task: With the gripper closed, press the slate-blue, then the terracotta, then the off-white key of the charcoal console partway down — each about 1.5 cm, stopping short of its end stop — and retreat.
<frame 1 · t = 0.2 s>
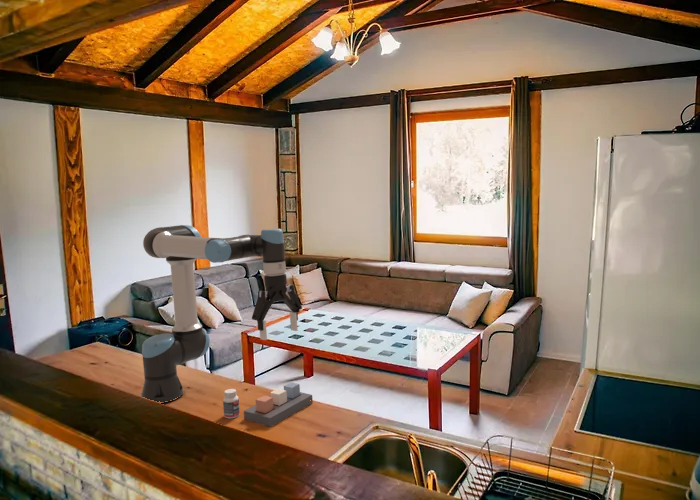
hand: (279, 334, 180), 27 cm above the countertop, fingers open, 13 cm apart
slate key: (291, 390, 187), point 5 cm above the countertop, slide at 0.0 cm
white key: (278, 397, 182), point 5 cm above the countertop, slide at 0.0 cm
console: (279, 410, 182), on the countertop
pill bottle: (232, 416, 180), on the countertop
terracotta key: (264, 404, 176), point 5 cm above the countertop, slide at 0.0 cm
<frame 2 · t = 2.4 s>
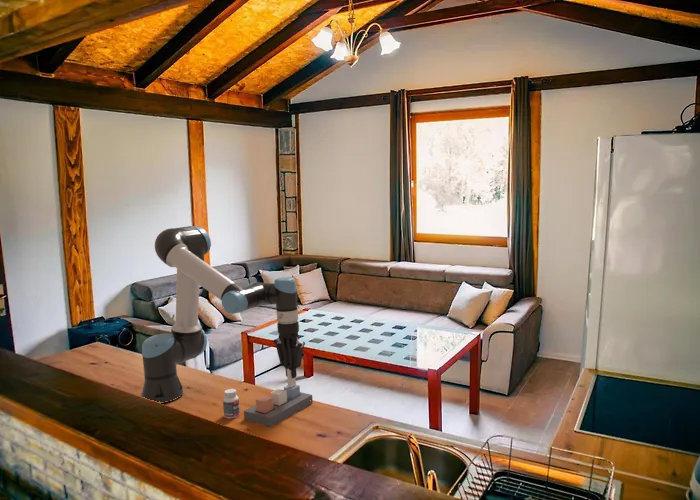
hand: (291, 385, 187), 7 cm above the countertop, fingers closed
slate key: (291, 391, 188), point 4 cm above the countertop, slide at 0.6 cm, touching gripper
everything else where it was.
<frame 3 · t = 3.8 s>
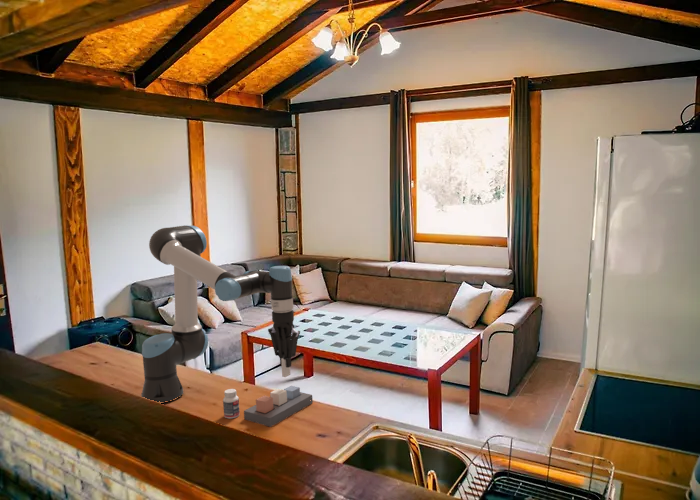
hand: (286, 375, 185), 11 cm above the countertop, fingers closed
slate key: (292, 393, 188), point 4 cm above the countertop, slide at 1.3 cm
everything else where it was.
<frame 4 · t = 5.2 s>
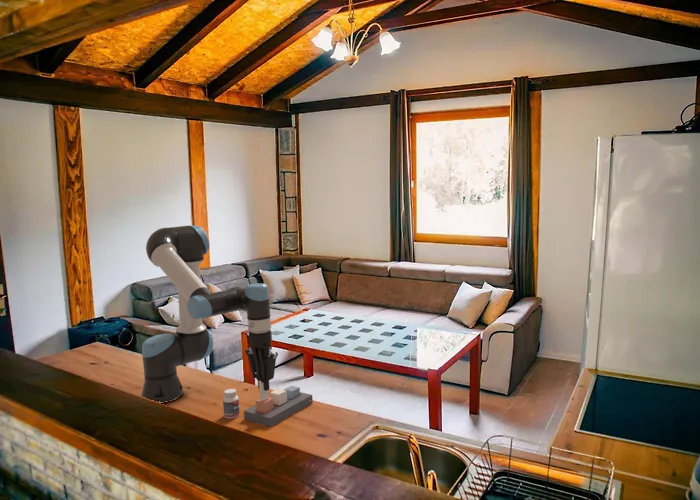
hand: (264, 398, 176), 7 cm above the countertop, fingers closed
terracotta key: (264, 405, 176), point 5 cm above the countertop, slide at 0.4 cm, touching gripper
everything else where it was.
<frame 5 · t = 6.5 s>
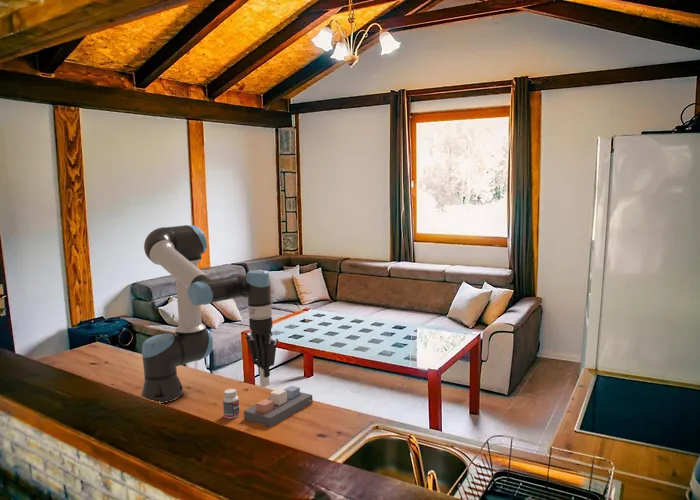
hand: (264, 385, 176), 11 cm above the countertop, fingers closed
terracotta key: (264, 407, 176), point 4 cm above the countertop, slide at 1.3 cm
everything else where it was.
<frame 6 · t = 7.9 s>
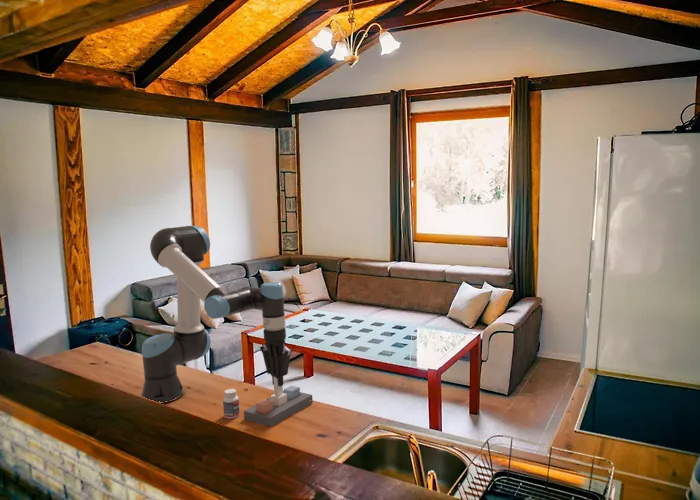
hand: (278, 394, 182), 6 cm above the countertop, fingers closed
white key: (278, 400, 182), point 4 cm above the countertop, slide at 1.2 cm, touching gripper
everything else where it was.
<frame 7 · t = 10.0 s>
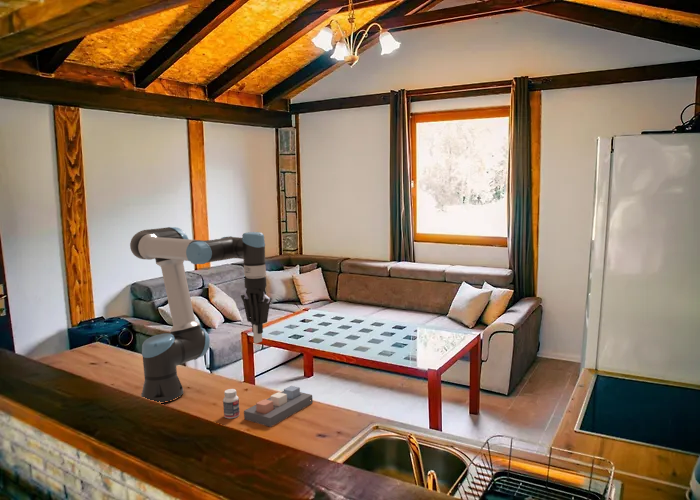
hand: (258, 341, 186), 23 cm above the countertop, fingers closed
white key: (278, 400, 182), point 4 cm above the countertop, slide at 1.3 cm
everything else where it was.
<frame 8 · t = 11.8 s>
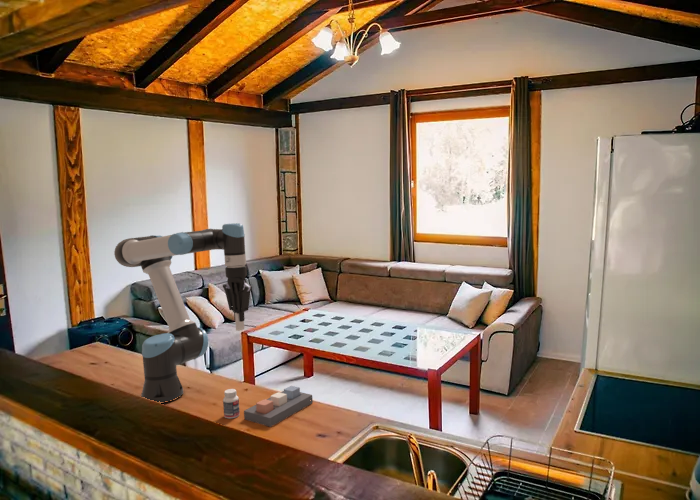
hand: (240, 329, 192), 26 cm above the countertop, fingers closed
nothing on the countertop moved.
at the end: slate key slide at 1.3 cm; terracotta key slide at 1.3 cm; white key slide at 1.3 cm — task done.
